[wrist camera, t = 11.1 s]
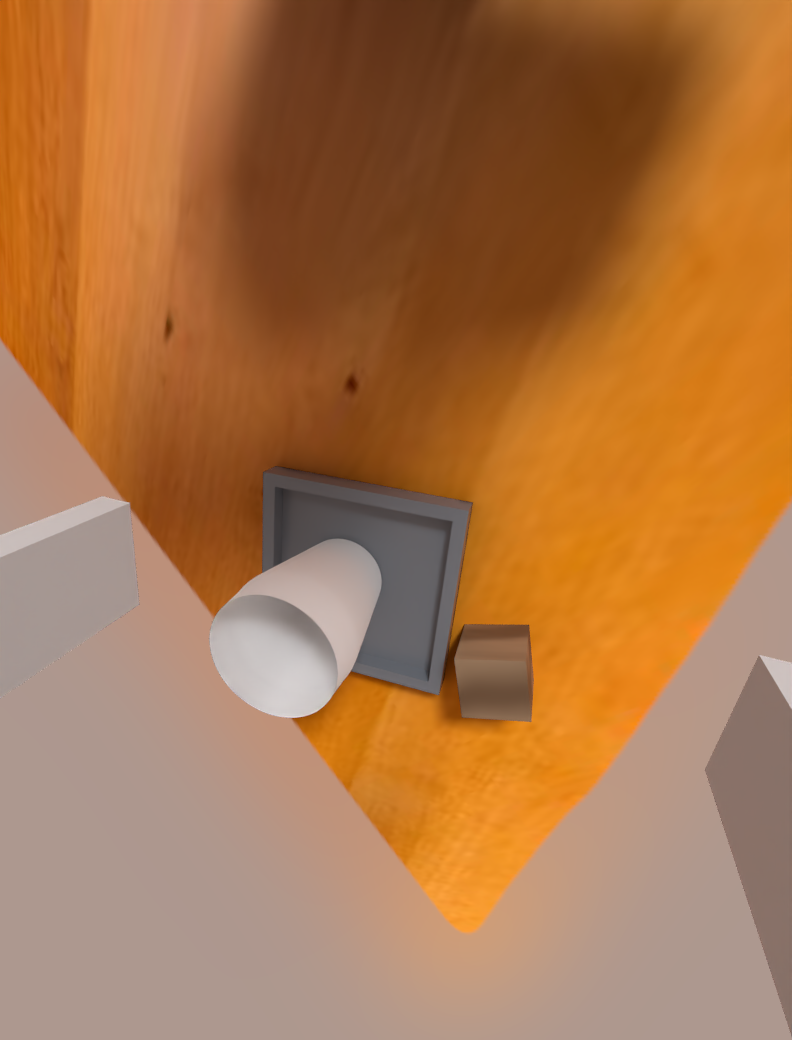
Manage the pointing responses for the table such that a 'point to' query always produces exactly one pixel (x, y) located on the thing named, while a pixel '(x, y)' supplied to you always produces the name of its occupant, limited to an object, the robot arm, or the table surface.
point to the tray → (380, 562)
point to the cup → (297, 628)
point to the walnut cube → (495, 672)
